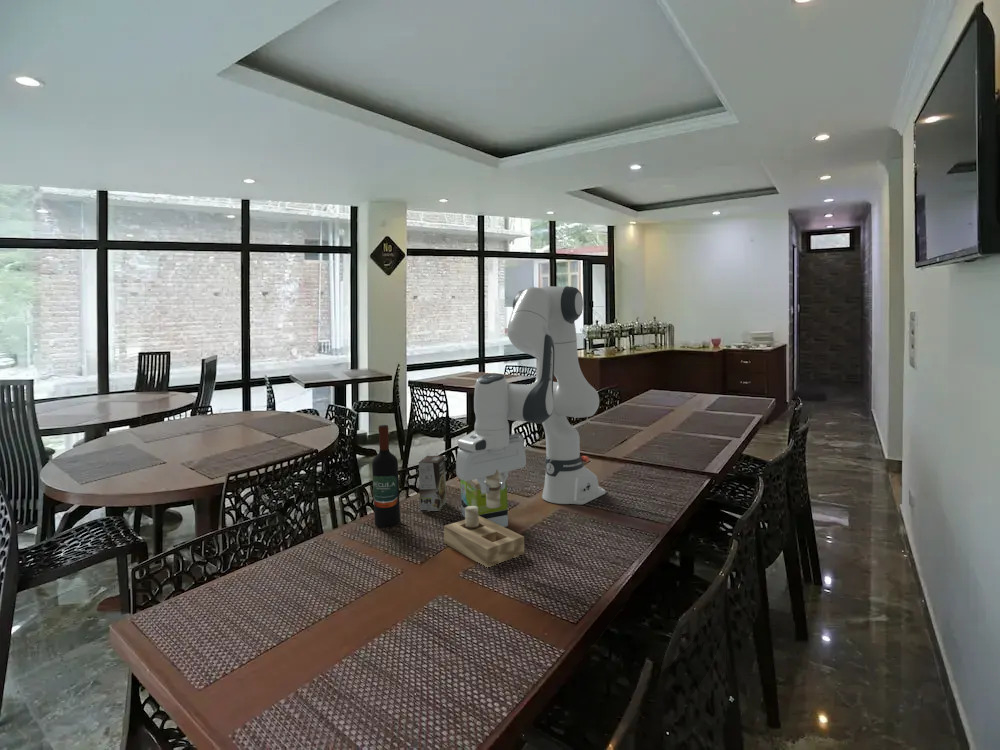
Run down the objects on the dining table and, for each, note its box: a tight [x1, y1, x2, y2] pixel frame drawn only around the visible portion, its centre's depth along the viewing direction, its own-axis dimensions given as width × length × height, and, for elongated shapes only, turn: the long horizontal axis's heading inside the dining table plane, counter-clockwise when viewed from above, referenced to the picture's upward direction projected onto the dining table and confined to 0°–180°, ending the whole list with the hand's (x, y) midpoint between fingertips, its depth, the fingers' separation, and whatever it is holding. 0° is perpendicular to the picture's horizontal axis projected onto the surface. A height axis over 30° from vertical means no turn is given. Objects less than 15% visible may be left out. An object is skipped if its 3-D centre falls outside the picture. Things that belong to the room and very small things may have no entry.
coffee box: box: [418, 455, 447, 512], centre depth 189 cm, size 9×6×16 cm
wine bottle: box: [371, 424, 401, 529], centre depth 175 cm, size 8×8×30 cm
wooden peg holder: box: [443, 506, 525, 569], centre depth 156 cm, size 12×20×10 cm, turn 38°
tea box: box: [459, 475, 509, 528], centre depth 176 cm, size 15×10×15 cm
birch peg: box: [486, 470, 500, 508], centre depth 150 cm, size 4×4×10 cm
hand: (492, 490), depth 150 cm, fingers closed on birch peg, 4 cm apart
